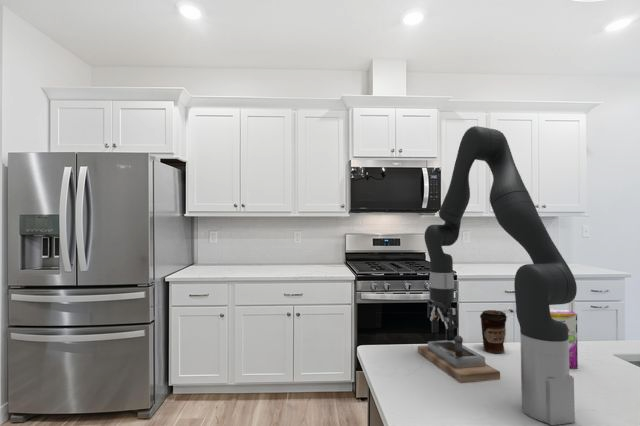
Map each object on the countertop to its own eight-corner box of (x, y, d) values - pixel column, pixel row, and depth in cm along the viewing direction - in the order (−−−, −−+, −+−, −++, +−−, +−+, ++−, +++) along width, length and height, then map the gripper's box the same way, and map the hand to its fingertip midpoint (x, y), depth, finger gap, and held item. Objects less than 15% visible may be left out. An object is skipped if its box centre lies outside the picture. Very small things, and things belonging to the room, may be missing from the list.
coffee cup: (513, 355, 116) (512, 315, 116) (487, 355, 116) (486, 314, 117) (500, 346, 125) (499, 309, 125) (476, 346, 125) (475, 308, 125)
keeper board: (500, 379, 98) (499, 344, 98) (461, 382, 95) (460, 348, 96) (450, 349, 121) (449, 322, 122) (417, 352, 119) (417, 324, 119)
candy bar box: (539, 368, 106) (538, 312, 106) (531, 361, 111) (529, 308, 111) (579, 369, 105) (578, 313, 105) (569, 363, 110) (567, 309, 110)
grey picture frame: (485, 366, 102) (484, 357, 102) (456, 368, 100) (456, 359, 100) (453, 347, 117) (452, 339, 117) (427, 349, 115) (427, 341, 115)
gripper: (465, 289, 110) (465, 342, 109) (440, 282, 124) (440, 329, 123) (443, 290, 108) (443, 344, 108) (420, 283, 122) (420, 330, 121)
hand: (442, 336), depth 115 cm, fingers open, 8 cm apart
